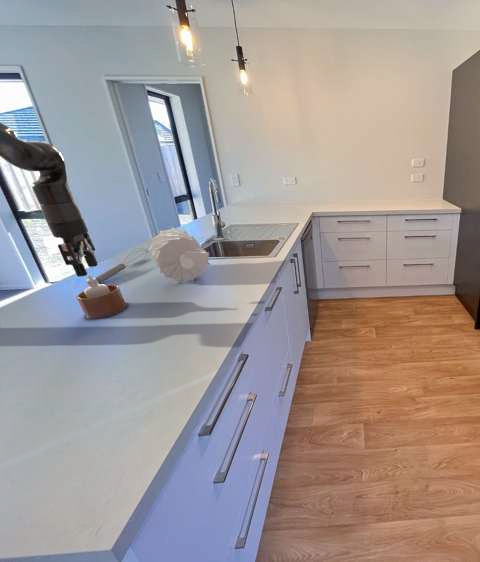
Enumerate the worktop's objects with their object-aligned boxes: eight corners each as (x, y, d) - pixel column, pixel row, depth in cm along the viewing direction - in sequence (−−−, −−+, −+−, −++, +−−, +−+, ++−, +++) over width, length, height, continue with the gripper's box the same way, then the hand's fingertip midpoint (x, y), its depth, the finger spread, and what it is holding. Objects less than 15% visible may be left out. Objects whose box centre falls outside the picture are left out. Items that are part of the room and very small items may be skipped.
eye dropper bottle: (99, 306, 99) (82, 273, 94) (118, 303, 100) (103, 271, 95) (92, 313, 96) (73, 279, 90) (112, 310, 97) (95, 277, 91)
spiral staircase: (182, 294, 116) (169, 273, 133) (221, 266, 123) (204, 249, 139) (144, 260, 104) (135, 242, 121) (189, 230, 110) (174, 217, 127)
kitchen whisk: (83, 288, 115) (76, 273, 112) (143, 258, 146) (139, 245, 143) (100, 287, 115) (93, 272, 112) (156, 258, 146) (152, 245, 143)
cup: (80, 321, 92) (70, 301, 89) (93, 307, 101) (84, 288, 98) (121, 314, 96) (112, 294, 93) (129, 300, 104) (122, 282, 101)
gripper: (59, 215, 90) (82, 265, 97) (33, 225, 78) (62, 281, 85) (90, 212, 93) (110, 261, 100) (70, 222, 81) (95, 276, 88)
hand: (88, 270), depth 92 cm, fingers open, 8 cm apart
